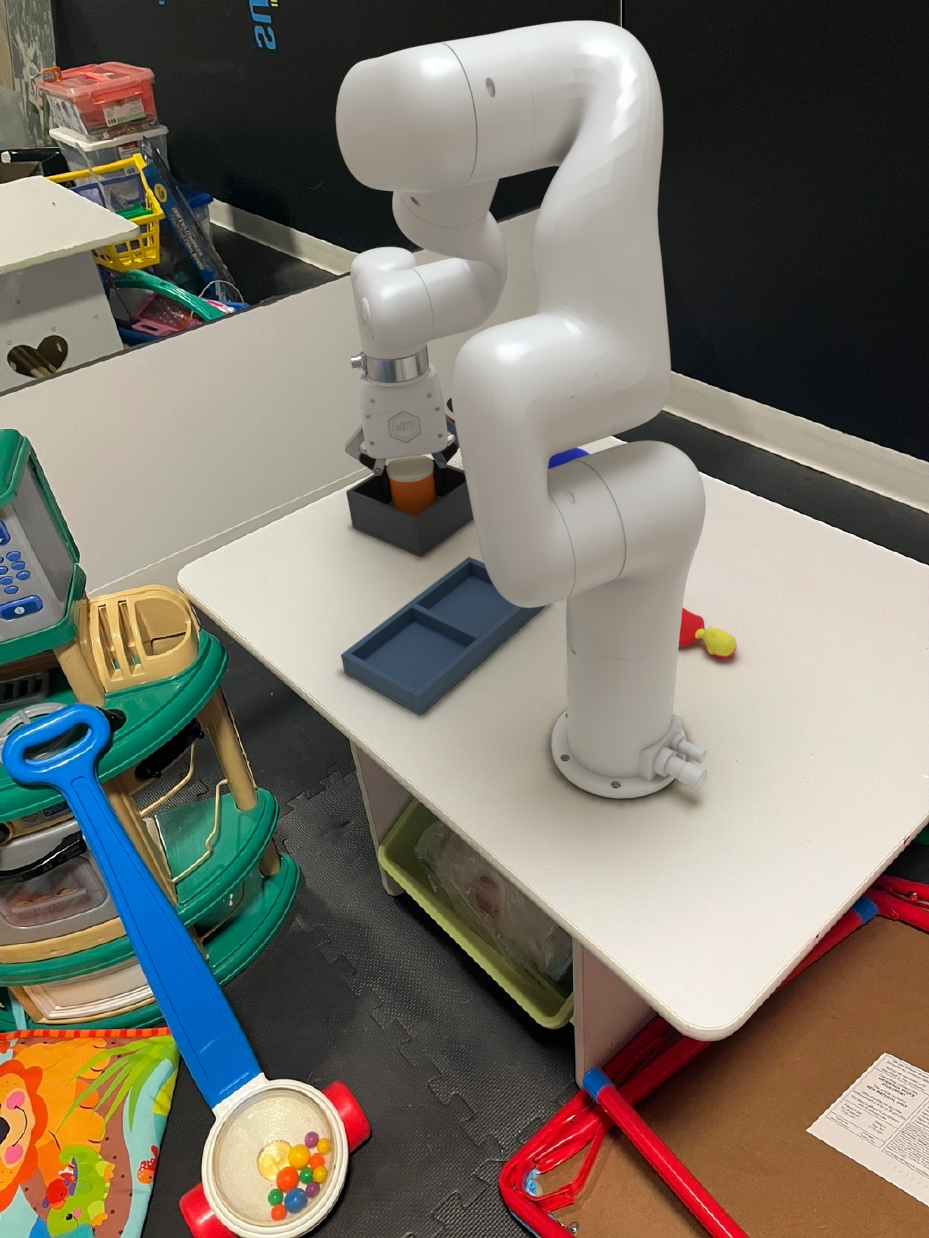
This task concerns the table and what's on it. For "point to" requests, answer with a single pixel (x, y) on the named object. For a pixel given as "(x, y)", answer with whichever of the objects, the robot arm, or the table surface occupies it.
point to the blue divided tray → (436, 638)
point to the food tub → (412, 483)
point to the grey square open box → (405, 528)
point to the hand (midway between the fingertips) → (413, 492)
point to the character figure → (705, 635)
